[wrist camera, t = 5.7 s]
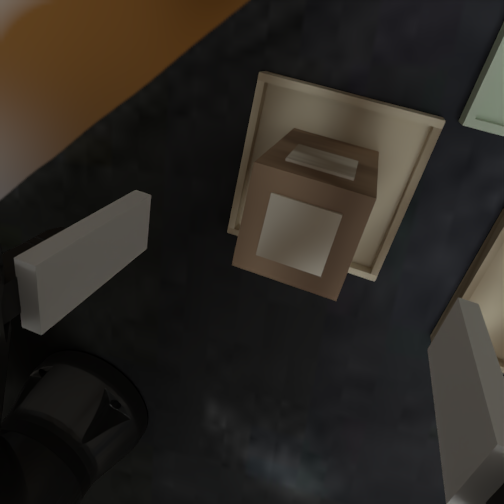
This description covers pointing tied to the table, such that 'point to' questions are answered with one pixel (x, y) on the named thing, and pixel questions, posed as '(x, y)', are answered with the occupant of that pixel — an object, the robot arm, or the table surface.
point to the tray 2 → (488, 93)
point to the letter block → (307, 211)
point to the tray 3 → (486, 287)
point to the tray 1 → (350, 131)
